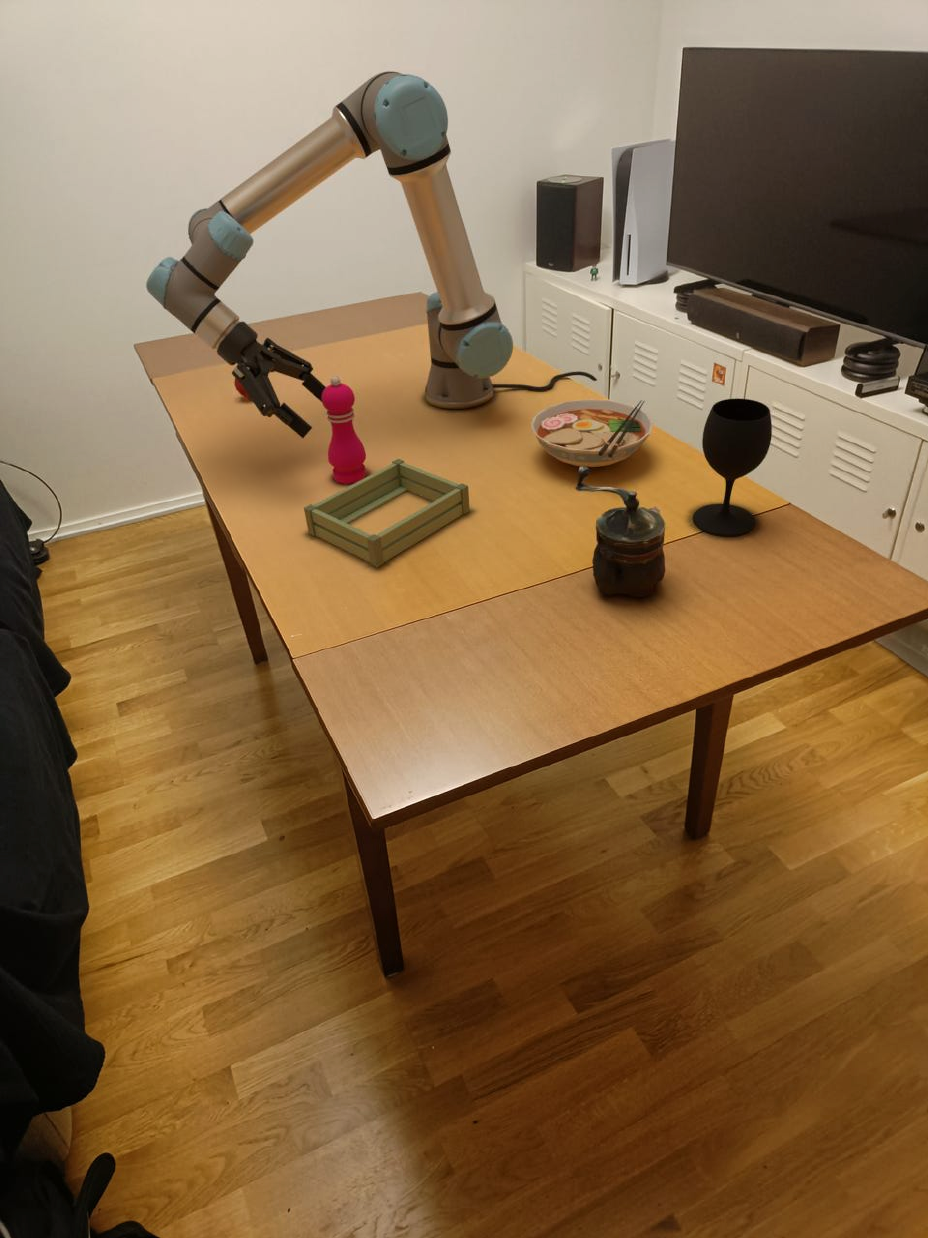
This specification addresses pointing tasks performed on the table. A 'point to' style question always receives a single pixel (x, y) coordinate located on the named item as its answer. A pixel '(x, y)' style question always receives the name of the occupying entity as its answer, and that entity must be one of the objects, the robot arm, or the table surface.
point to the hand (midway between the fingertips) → (320, 417)
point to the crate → (376, 490)
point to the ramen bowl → (591, 431)
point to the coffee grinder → (627, 545)
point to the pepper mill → (343, 434)
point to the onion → (241, 389)
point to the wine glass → (733, 459)
